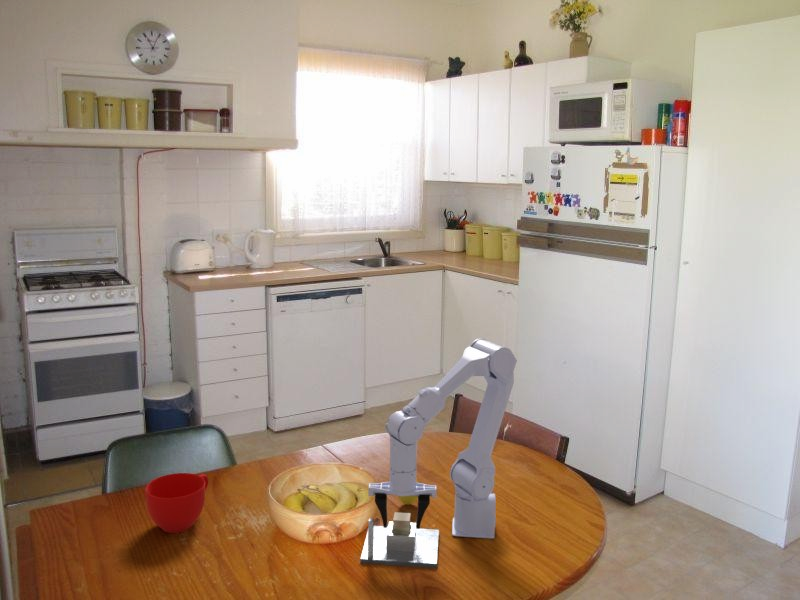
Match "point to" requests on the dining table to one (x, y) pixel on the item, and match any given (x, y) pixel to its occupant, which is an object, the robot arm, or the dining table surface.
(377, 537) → the stand
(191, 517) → the ceramic cup
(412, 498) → the lemon
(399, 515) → the block
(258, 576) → the dining table surface
